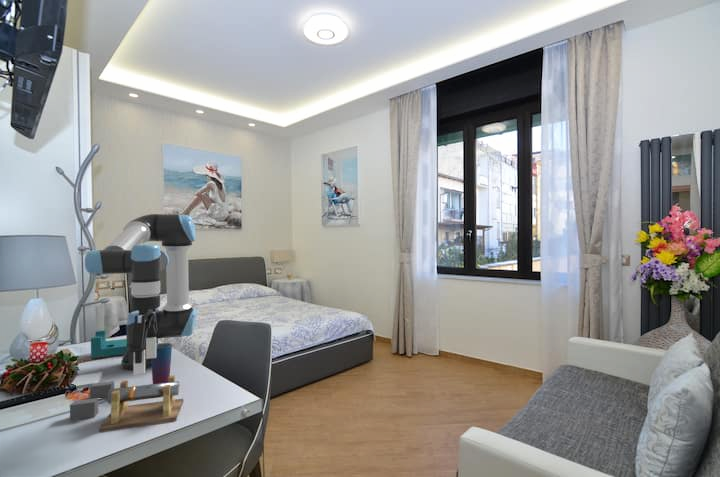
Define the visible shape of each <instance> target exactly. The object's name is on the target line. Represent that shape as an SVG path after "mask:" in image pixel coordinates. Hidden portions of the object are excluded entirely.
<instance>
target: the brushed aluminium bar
mask: <svg viewBox="0 0 720 477" xmlns="http://www.w3.org/2000/svg"><path fill="white" fill-rule="evenodd" d="M168 384H170V396H175V397H176V396H178V395H179V394H180V393H179V392H180V381H179V380H177V381H176V380H175V382H167V383H159V384H153V383H151V384H143V385H132V386H128V387H124V388H120V387H117V388H115V387H114V389H110V390H109V392H108V397H107V398H106V400H107V404H108V405H110V404H111V393H112V392H113V391H116V390H120V402H127V401H128V402H136V401H142V400H149V399H156V398H163V387H164V385H168Z"/></svg>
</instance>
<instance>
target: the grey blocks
mask: <svg viewBox="0 0 720 477" xmlns="http://www.w3.org/2000/svg"><path fill="white" fill-rule="evenodd" d="M110 389H115V380H111V381H101V382H100V381H99V382H98V383H93V384H92V385H91V386H90V387H89V398H88V399H87V398H86V399H80V400H74V401H73V402H72V403H71V404H70V405H69V421H70V422H71V421H78V420H84V419H93V418H95V417H96V416H97V415H98V414H99V399H98V398H105V399H107V397H108V392H109V390H110Z"/></svg>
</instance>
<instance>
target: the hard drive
mask: <svg viewBox="0 0 720 477" xmlns="http://www.w3.org/2000/svg"><path fill="white" fill-rule="evenodd" d="M102 376H103V372H102V371H99V372H92V373H86V374H79V375H76V376H75V378H74V379H73V380H72V382H71V383H70V385H71V384H74V385H76V387H77V388H79V389H83V387H85V388H87V387H86V386H91V385H92V384H93V383H100V380H101V379H102Z"/></svg>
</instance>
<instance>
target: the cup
mask: <svg viewBox="0 0 720 477" xmlns="http://www.w3.org/2000/svg"><path fill="white" fill-rule="evenodd" d="M172 349H173V343H171V342H158V344H156V358H151V364H152V367H151V374H152V375H151V376H152V377H151V378H152V384H159V383H167V382H168V378H169V376H171V364H172V363H171V362H172V352H173V351H172Z"/></svg>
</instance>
